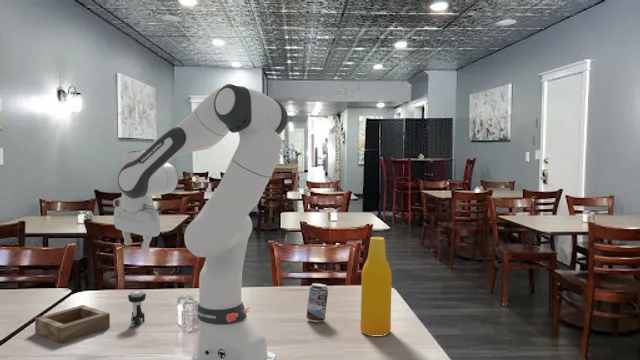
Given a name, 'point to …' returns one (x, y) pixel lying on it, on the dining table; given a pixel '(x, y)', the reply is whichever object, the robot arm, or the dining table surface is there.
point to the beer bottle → (376, 290)
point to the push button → (137, 307)
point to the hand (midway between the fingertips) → (136, 247)
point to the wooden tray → (72, 323)
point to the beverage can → (317, 302)
